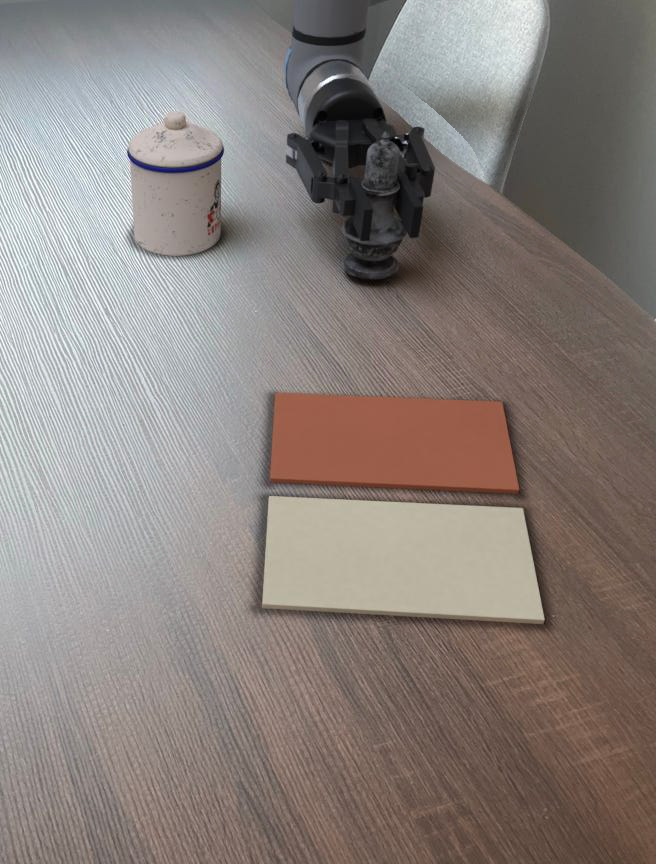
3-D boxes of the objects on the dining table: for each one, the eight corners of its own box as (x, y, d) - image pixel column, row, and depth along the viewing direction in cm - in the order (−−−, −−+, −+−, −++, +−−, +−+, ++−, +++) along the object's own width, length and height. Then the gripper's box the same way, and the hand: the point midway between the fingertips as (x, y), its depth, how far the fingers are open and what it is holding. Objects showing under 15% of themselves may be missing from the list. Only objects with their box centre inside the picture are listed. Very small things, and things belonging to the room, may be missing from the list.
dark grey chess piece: (411, 258, 96) (431, 124, 87) (387, 286, 93) (405, 150, 84) (353, 244, 98) (367, 112, 89) (327, 271, 95) (339, 137, 86)
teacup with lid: (229, 255, 99) (231, 130, 91) (136, 262, 99) (129, 137, 90) (211, 200, 108) (211, 81, 99) (125, 207, 107) (118, 87, 98)
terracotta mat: (500, 407, 82) (502, 401, 81) (517, 496, 74) (519, 489, 74) (274, 398, 83) (275, 392, 83) (269, 484, 76) (270, 478, 75)
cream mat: (521, 514, 73) (523, 507, 73) (542, 626, 66) (545, 619, 65) (268, 501, 74) (268, 495, 74) (261, 610, 67) (262, 603, 67)
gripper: (417, 150, 106) (479, 260, 90) (257, 159, 105) (291, 271, 89) (429, 72, 100) (497, 173, 84) (260, 81, 100) (297, 185, 84)
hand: (391, 223), depth 87 cm, fingers closed on dark grey chess piece, 4 cm apart
